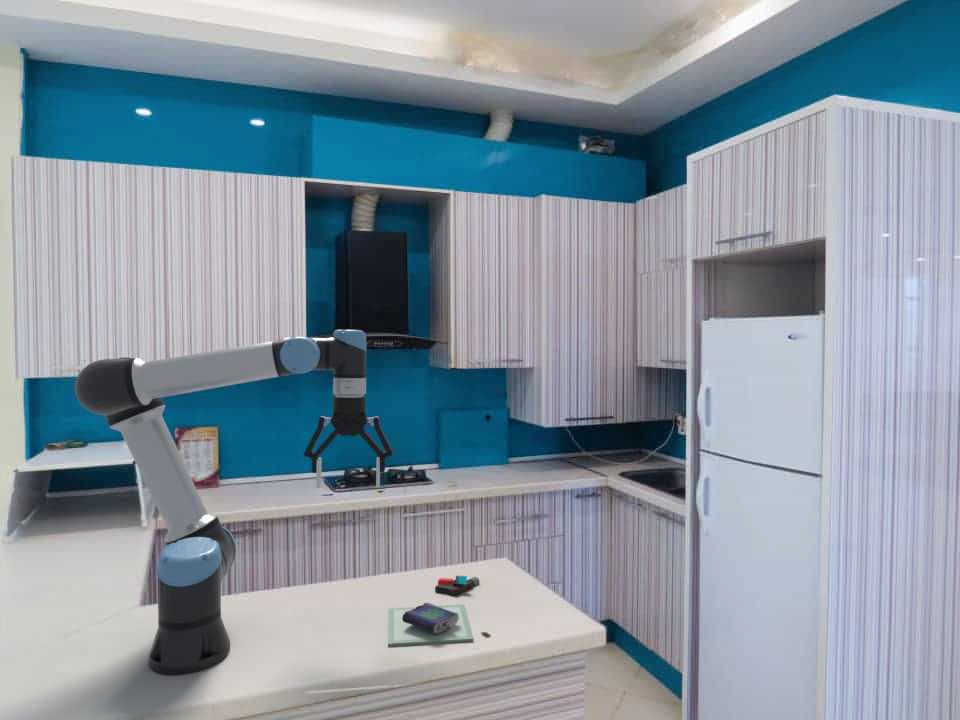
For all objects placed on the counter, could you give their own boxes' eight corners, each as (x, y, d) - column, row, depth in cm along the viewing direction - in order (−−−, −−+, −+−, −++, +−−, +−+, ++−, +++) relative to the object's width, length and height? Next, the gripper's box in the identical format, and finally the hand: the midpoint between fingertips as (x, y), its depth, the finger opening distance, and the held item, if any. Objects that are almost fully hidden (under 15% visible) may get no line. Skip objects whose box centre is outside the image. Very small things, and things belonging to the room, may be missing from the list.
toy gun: (483, 586, 167) (483, 568, 166) (455, 601, 157) (455, 581, 157) (454, 578, 172) (454, 560, 172) (425, 592, 162) (425, 573, 162)
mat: (387, 646, 132) (387, 643, 132) (388, 610, 150) (388, 608, 150) (473, 641, 135) (473, 638, 135) (464, 606, 153) (464, 604, 153)
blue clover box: (429, 600, 147) (466, 614, 140) (428, 613, 147) (465, 627, 140) (402, 612, 139) (439, 627, 133) (401, 625, 139) (438, 641, 133)
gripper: (291, 396, 142) (290, 490, 143) (403, 397, 145) (402, 489, 146) (297, 394, 150) (296, 483, 150) (403, 394, 153) (402, 482, 153)
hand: (348, 486), depth 148 cm, fingers open, 13 cm apart
